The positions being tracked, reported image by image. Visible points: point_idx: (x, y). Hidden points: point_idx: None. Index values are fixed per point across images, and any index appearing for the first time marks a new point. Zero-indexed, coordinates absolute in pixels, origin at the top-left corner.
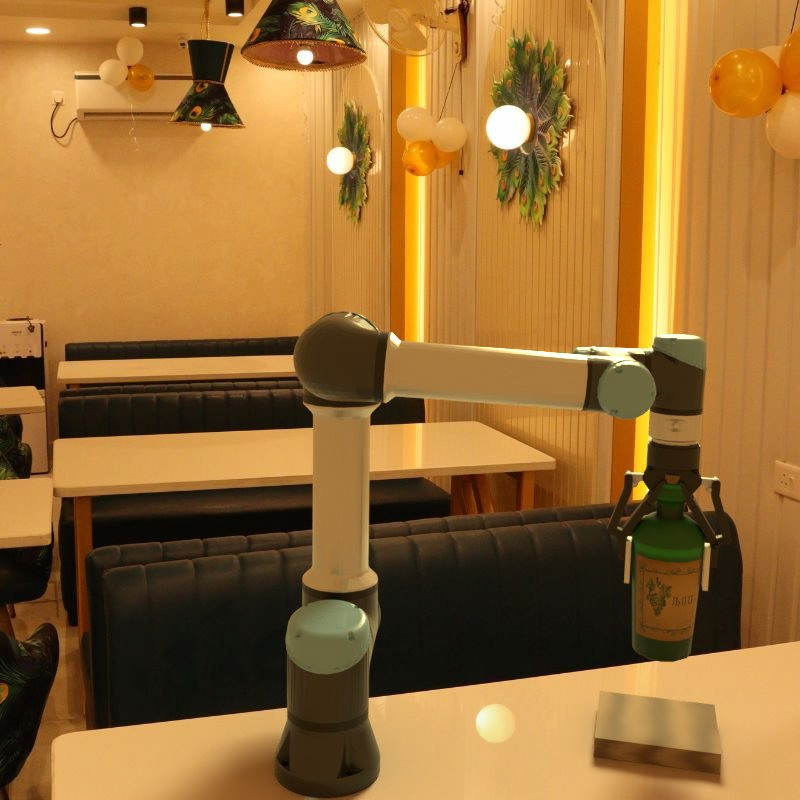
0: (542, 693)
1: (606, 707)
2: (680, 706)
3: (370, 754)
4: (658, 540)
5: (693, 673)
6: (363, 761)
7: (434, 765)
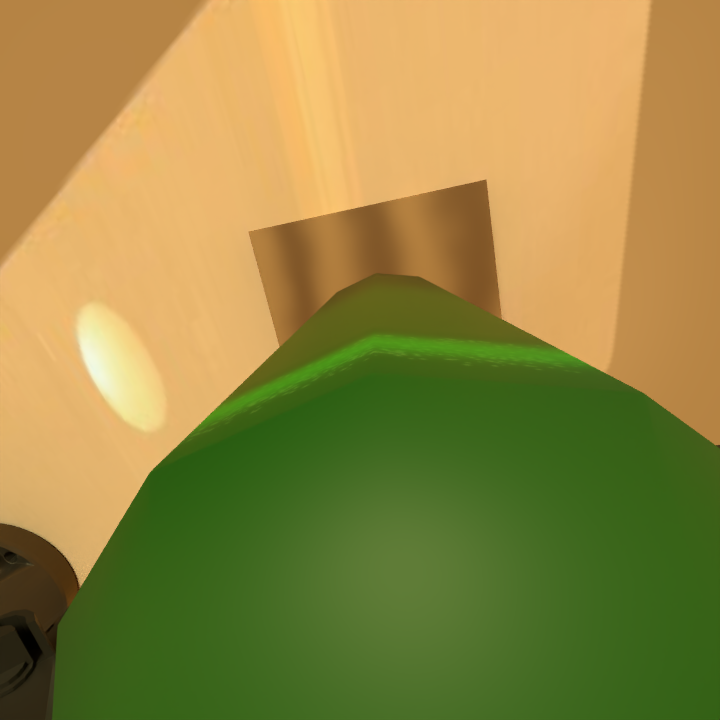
0: (139, 219)
1: (284, 301)
2: (418, 225)
3: (45, 613)
4: None
5: None
6: (49, 624)
7: (117, 519)
